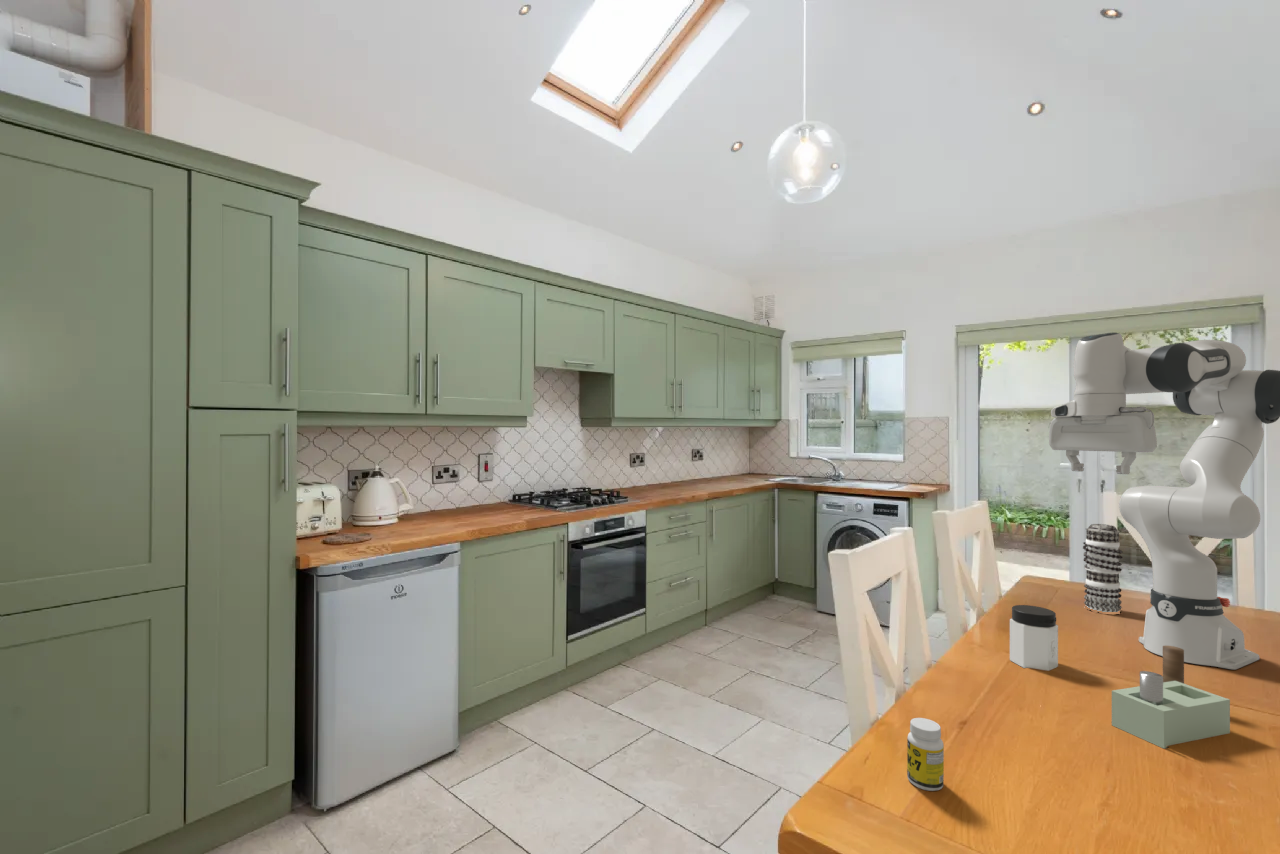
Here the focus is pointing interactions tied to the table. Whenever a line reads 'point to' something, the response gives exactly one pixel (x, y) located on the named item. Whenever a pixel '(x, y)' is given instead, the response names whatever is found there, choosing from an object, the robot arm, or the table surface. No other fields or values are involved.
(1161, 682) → the grey metal peg
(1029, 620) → the jar
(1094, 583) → the decorative candle
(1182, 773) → the table surface
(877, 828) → the table surface
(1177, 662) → the walnut peg
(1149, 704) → the socket block
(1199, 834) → the table surface
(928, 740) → the supplement bottle
